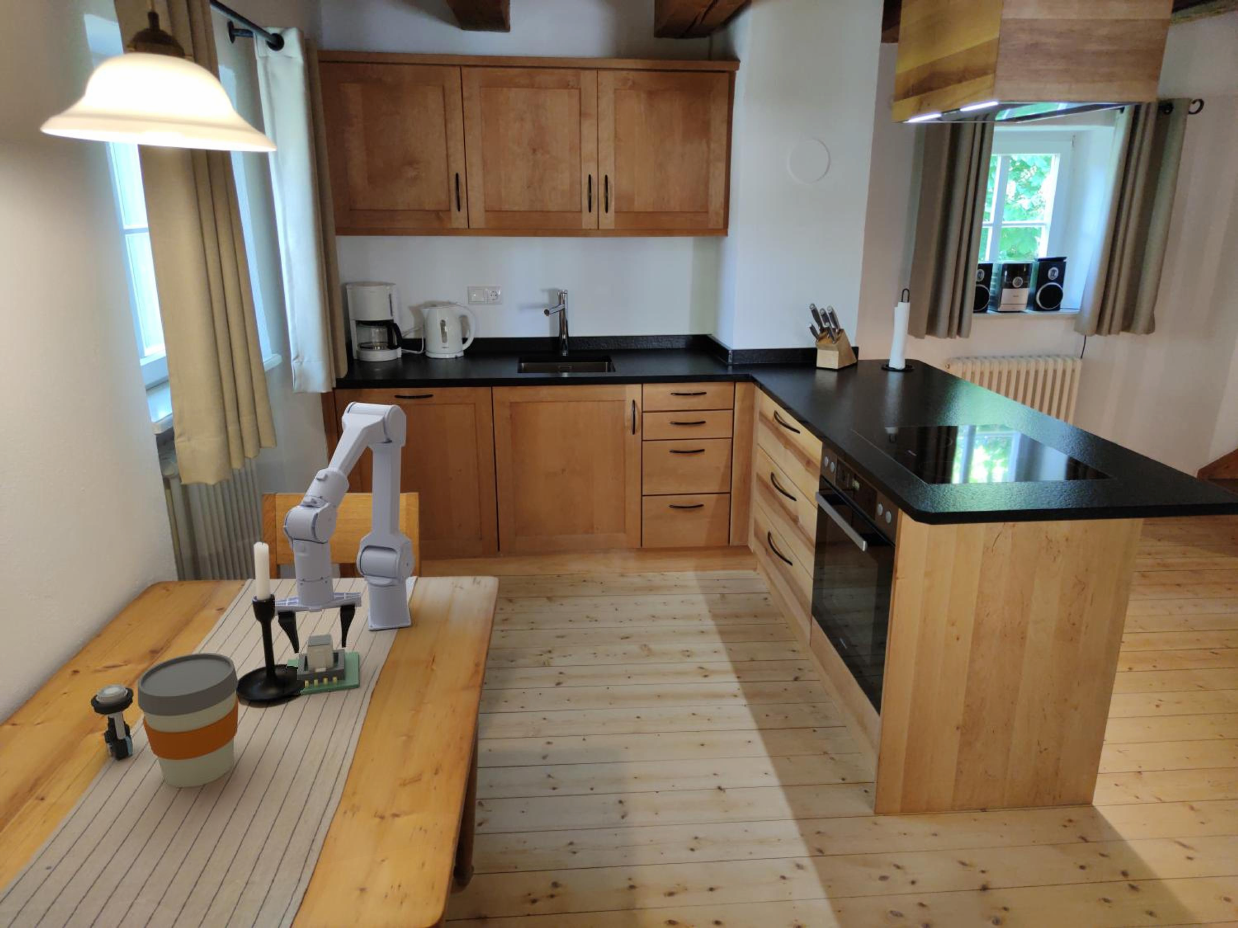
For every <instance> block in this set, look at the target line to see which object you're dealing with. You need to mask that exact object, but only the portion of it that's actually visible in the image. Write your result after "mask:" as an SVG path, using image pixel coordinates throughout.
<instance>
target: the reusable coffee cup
mask: <svg viewBox="0 0 1238 928" xmlns="http://www.w3.org/2000/svg"><path fill="white" fill-rule="evenodd" d="M238 686H239V679H238V675H237V672H236V667H235V663H234V660H232V659H231V658H230V657H228V656H227V655H223V654H220V653H216V652H215V653H213V652H211V653H210V652H201V653H200V652H199V653H189V654H185V655H179V656H176V657H173V658H169V659H167V660H163V661H160V662H159V663H157V664H154V665H153V666H152V667H150V668H148V669H147V670H146V671H144V673H142V674H141V675H140V677H139V678H138V681H137V706H138V707H139V709H140V710H142V712H143V713H142V714H143V718H142V724H143V728H144V731H145V734H146V736H147V739H148V742H149V747H150V749H151V752H152V754H154V755H155V756H156V757H157V760H158V763H159V767H160V770H161V772H162V774H163V778H164V780H165V782H166V783H167V784H168V785H170V786H173V787H177V788H193V787H199V786H203V785H206V784H208V783H211V782H213V781H216V780H218V779H220V778H221V777H222V776H224V775H225V774H226V773H228V772H229V771H230V769H231V768H232V766H233V763H234V753H235V752H234V749H235V747H234V745H235V736H236V734H237V733H238V725H239V722H238V721H239V698H238V696H237V695H236V691H237V688H238Z"/></svg>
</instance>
